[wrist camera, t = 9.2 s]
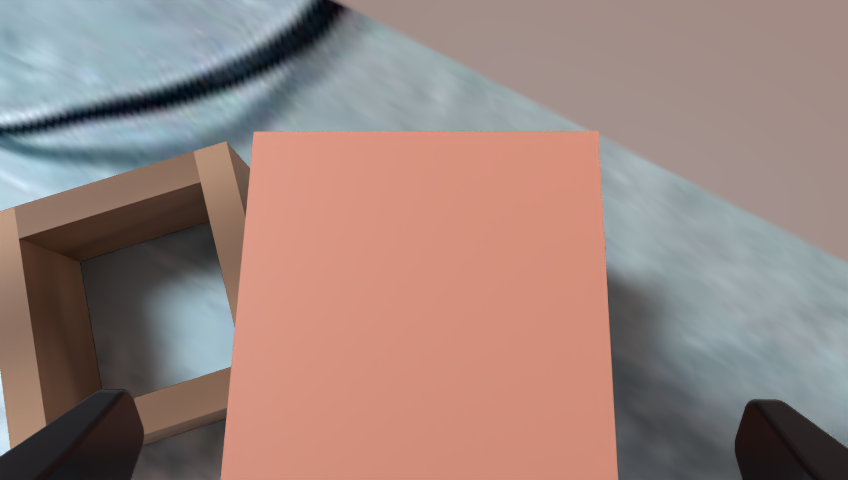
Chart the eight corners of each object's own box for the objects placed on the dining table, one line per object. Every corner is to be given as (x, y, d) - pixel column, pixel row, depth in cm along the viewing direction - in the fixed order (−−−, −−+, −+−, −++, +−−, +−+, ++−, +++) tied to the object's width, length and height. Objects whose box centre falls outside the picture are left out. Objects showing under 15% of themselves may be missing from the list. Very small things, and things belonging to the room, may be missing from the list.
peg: (508, 437, 19) (618, 508, 6) (375, 434, 19) (219, 495, 6) (506, 305, 20) (598, 130, 7) (380, 303, 20) (253, 132, 7)
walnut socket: (313, 390, 19) (288, 387, 16) (81, 465, 19) (14, 476, 16) (257, 177, 21) (226, 141, 18) (45, 243, 21) (-20, 217, 18)
